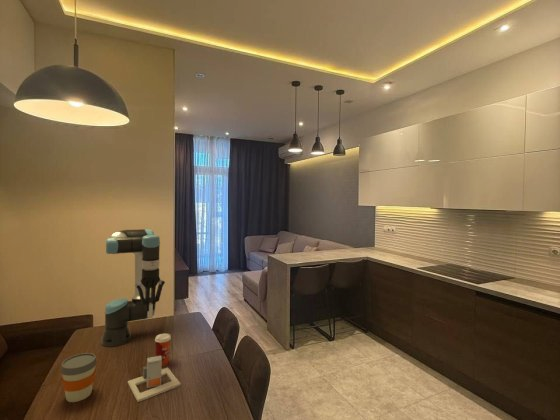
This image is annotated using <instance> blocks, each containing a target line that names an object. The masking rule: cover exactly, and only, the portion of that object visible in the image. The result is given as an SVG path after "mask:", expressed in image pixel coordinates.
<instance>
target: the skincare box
mask: <svg viewBox="0 0 560 420" xmlns="http://www.w3.org/2000/svg"><path fill="white" fill-rule="evenodd" d="M146 366H147V382H146V389H152V388H155V387H157V386H160V385H162V376H161V371H162V369H163V368H162V367H163V366H162V358H161V356H156V355H155V356H151V357H147V358H146Z"/></svg>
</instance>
